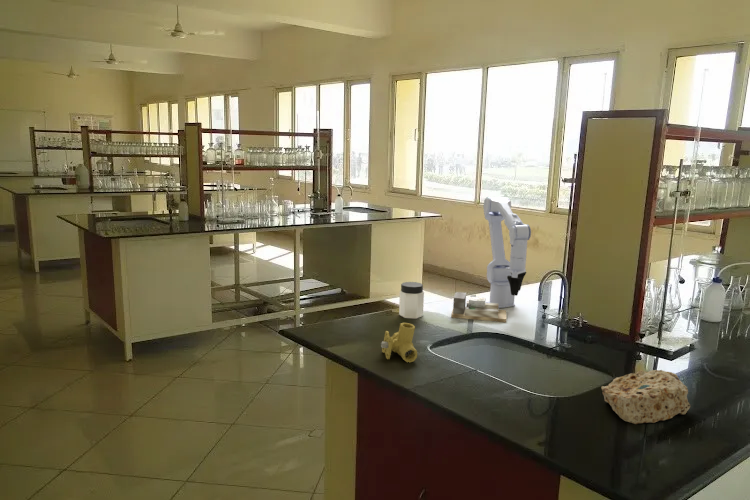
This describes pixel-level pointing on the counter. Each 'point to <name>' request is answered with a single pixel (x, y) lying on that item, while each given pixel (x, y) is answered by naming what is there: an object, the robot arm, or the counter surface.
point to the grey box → (476, 302)
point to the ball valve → (400, 343)
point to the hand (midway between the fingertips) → (515, 292)
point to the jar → (411, 300)
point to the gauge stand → (476, 310)
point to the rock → (647, 396)
